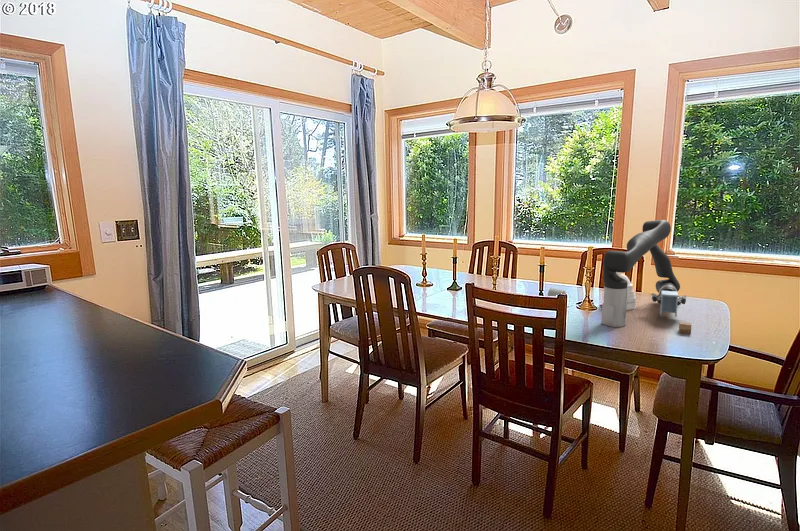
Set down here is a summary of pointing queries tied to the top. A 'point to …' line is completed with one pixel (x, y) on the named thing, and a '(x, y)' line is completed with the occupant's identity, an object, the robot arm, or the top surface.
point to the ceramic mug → (555, 292)
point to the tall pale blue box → (669, 302)
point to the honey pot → (629, 293)
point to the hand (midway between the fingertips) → (669, 302)
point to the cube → (685, 327)
